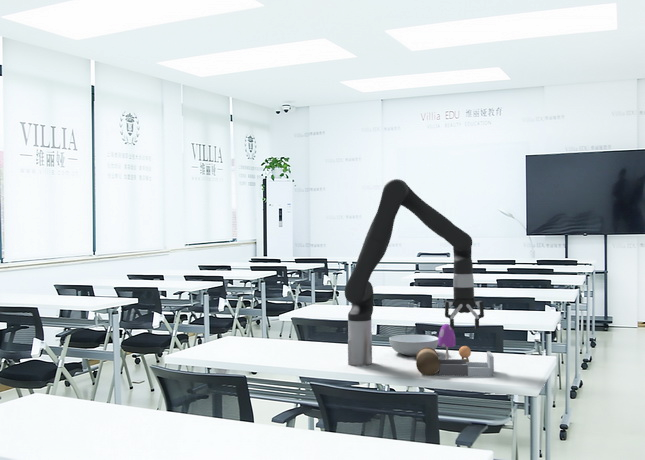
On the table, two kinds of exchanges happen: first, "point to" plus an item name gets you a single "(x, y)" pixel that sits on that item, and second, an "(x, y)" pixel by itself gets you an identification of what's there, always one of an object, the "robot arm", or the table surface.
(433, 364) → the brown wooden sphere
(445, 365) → the grey piece
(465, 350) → the ball
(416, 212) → the robot arm
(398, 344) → the serving bowl
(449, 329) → the toy
